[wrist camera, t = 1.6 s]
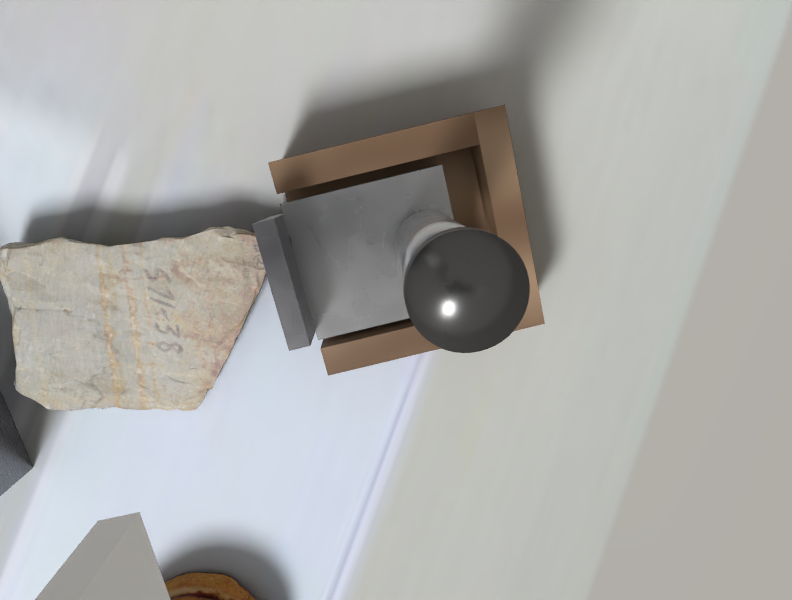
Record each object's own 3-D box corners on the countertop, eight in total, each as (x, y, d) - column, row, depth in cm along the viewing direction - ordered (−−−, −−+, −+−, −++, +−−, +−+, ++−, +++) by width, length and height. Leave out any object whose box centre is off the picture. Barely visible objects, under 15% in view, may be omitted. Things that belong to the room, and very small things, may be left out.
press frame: (280, 163, 30) (268, 162, 26) (489, 112, 30) (504, 104, 26) (332, 354, 32) (328, 375, 29) (526, 307, 32) (544, 323, 29)
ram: (269, 206, 29) (174, 235, 15) (441, 164, 29) (505, 154, 15) (304, 331, 31) (248, 461, 17) (468, 291, 31) (549, 389, 17)
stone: (280, 223, 31) (272, 227, 28) (287, 401, 33) (280, 419, 31) (5, 224, 30) (-28, 228, 28) (31, 406, 32) (2, 425, 30)
